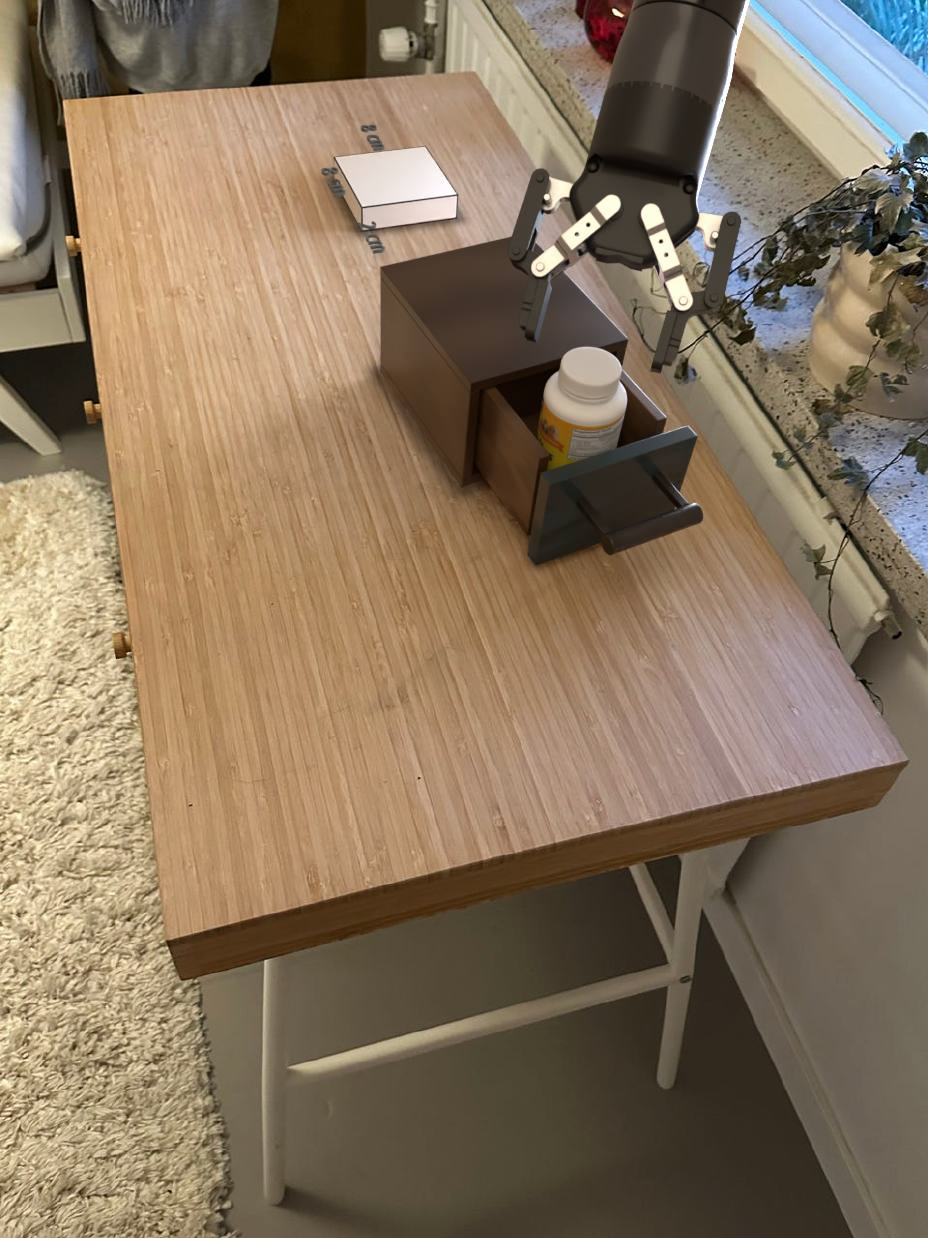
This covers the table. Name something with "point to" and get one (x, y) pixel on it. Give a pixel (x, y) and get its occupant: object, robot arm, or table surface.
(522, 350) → the cabinet
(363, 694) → the table surface
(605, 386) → the supplement bottle
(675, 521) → the drawer
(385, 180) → the container
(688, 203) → the robot arm
